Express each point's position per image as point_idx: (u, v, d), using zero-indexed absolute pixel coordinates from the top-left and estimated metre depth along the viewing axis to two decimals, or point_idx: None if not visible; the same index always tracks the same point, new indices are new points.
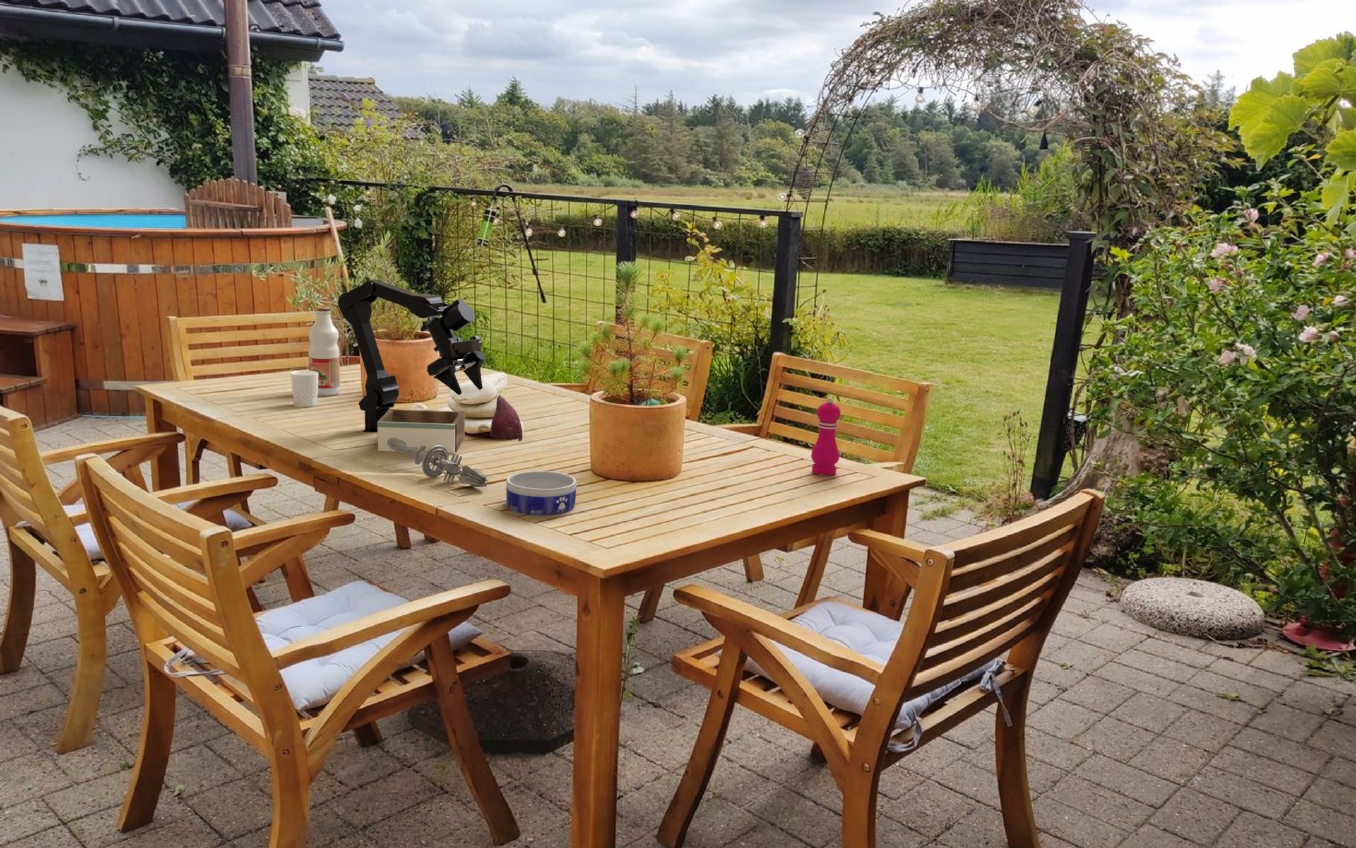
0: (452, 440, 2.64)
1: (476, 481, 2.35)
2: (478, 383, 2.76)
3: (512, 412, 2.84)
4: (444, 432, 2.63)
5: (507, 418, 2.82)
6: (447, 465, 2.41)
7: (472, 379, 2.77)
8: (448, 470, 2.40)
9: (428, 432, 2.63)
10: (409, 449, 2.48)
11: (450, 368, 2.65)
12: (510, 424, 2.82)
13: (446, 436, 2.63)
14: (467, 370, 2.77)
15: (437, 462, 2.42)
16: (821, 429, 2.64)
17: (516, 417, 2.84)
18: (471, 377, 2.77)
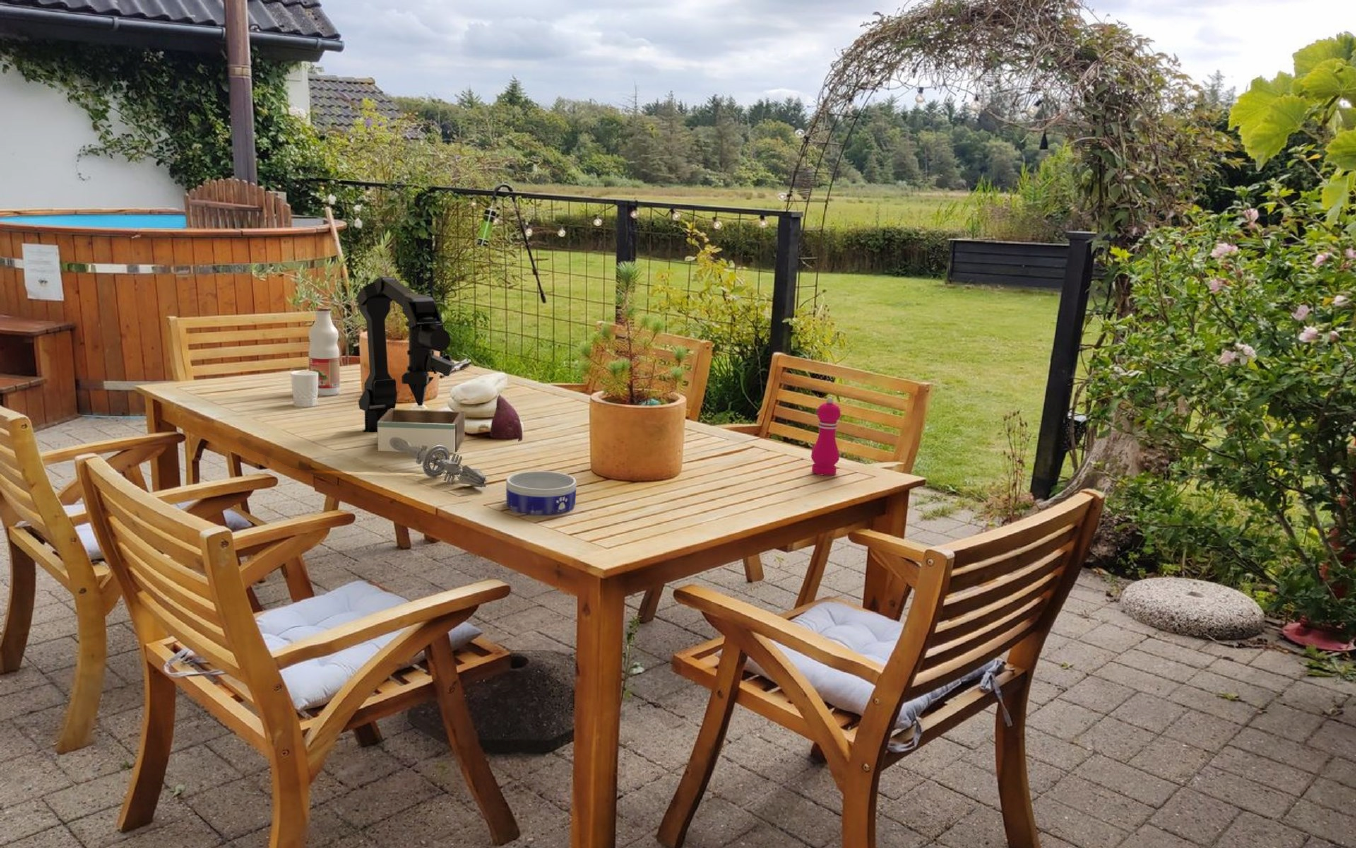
0: (452, 440, 2.64)
1: (475, 481, 2.35)
2: None
3: (512, 412, 2.84)
4: (444, 432, 2.63)
5: (507, 418, 2.82)
6: (447, 465, 2.41)
7: None
8: (448, 470, 2.40)
9: (428, 432, 2.63)
10: (411, 449, 2.48)
11: (429, 382, 2.64)
12: (510, 424, 2.82)
13: (446, 436, 2.63)
14: None
15: (438, 462, 2.42)
16: (821, 429, 2.64)
17: (516, 417, 2.84)
18: None
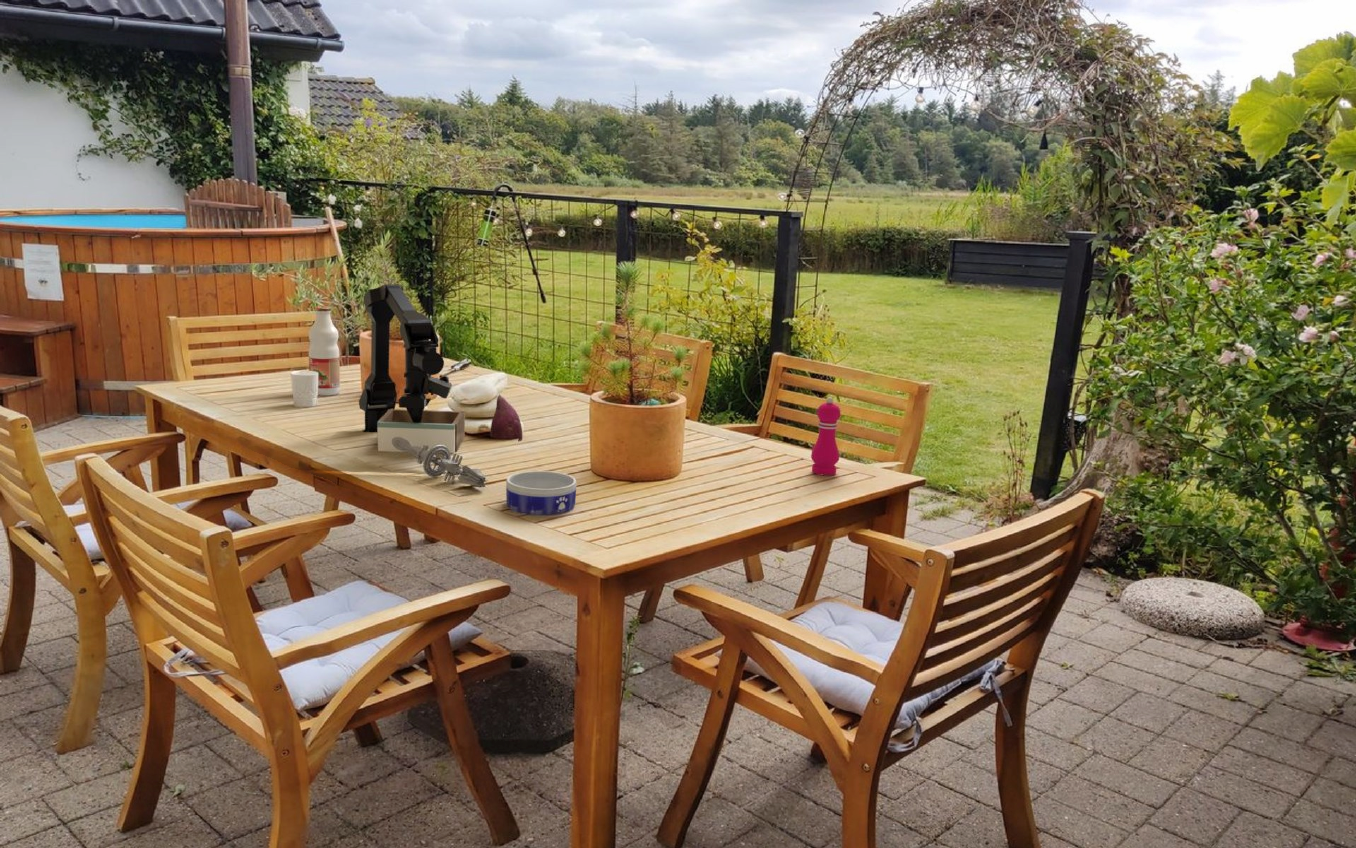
0: (452, 440, 2.64)
1: (475, 481, 2.35)
2: None
3: (512, 412, 2.84)
4: (444, 432, 2.63)
5: (507, 418, 2.82)
6: (448, 465, 2.41)
7: None
8: (449, 470, 2.41)
9: (428, 432, 2.63)
10: (412, 448, 2.48)
11: (426, 405, 2.60)
12: (510, 424, 2.82)
13: (446, 436, 2.63)
14: None
15: (438, 462, 2.42)
16: (821, 429, 2.64)
17: (516, 417, 2.84)
18: None
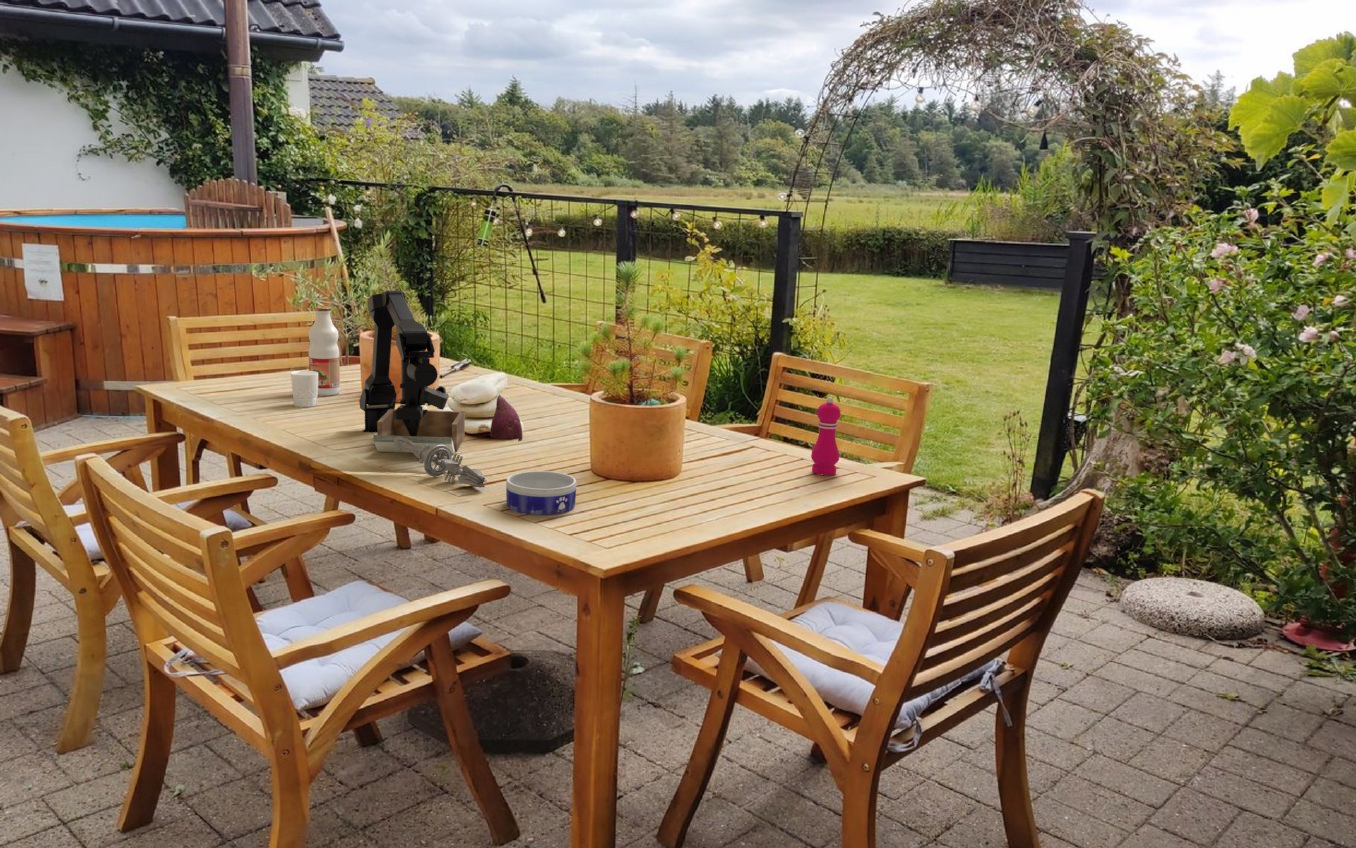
0: (451, 449, 2.62)
1: (474, 481, 2.35)
2: None
3: (512, 412, 2.84)
4: None
5: (507, 418, 2.82)
6: (448, 465, 2.41)
7: None
8: (449, 470, 2.41)
9: (425, 444, 2.60)
10: (413, 448, 2.49)
11: (423, 416, 2.56)
12: (510, 424, 2.82)
13: None
14: None
15: (439, 462, 2.42)
16: (821, 429, 2.64)
17: (516, 417, 2.84)
18: None
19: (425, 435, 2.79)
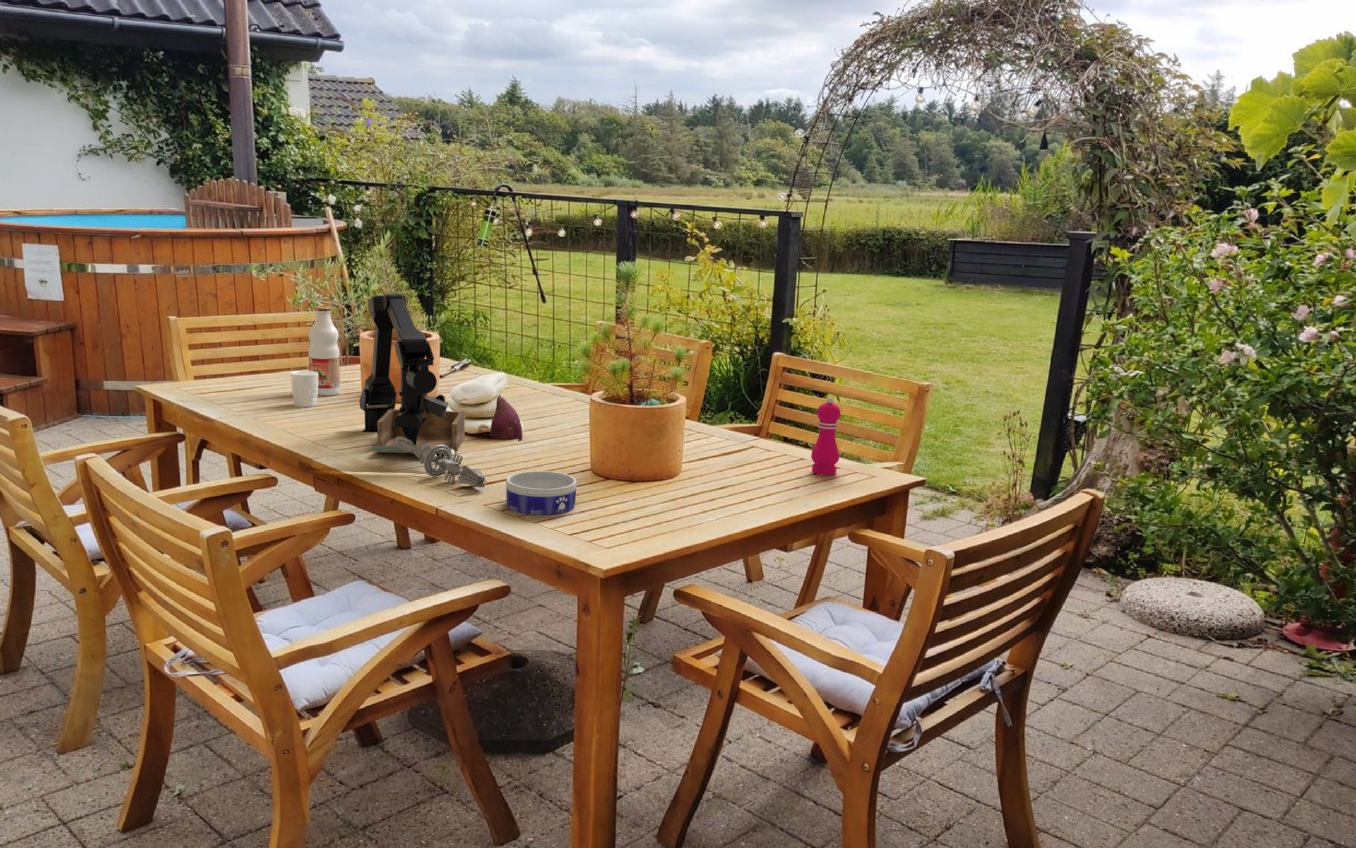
0: None
1: (474, 481, 2.35)
2: None
3: (512, 412, 2.84)
4: None
5: (507, 418, 2.82)
6: (448, 465, 2.41)
7: None
8: (449, 470, 2.41)
9: None
10: (414, 448, 2.49)
11: (422, 424, 2.55)
12: (510, 424, 2.82)
13: None
14: None
15: (439, 461, 2.42)
16: (821, 429, 2.64)
17: (516, 417, 2.84)
18: None
19: (425, 435, 2.79)
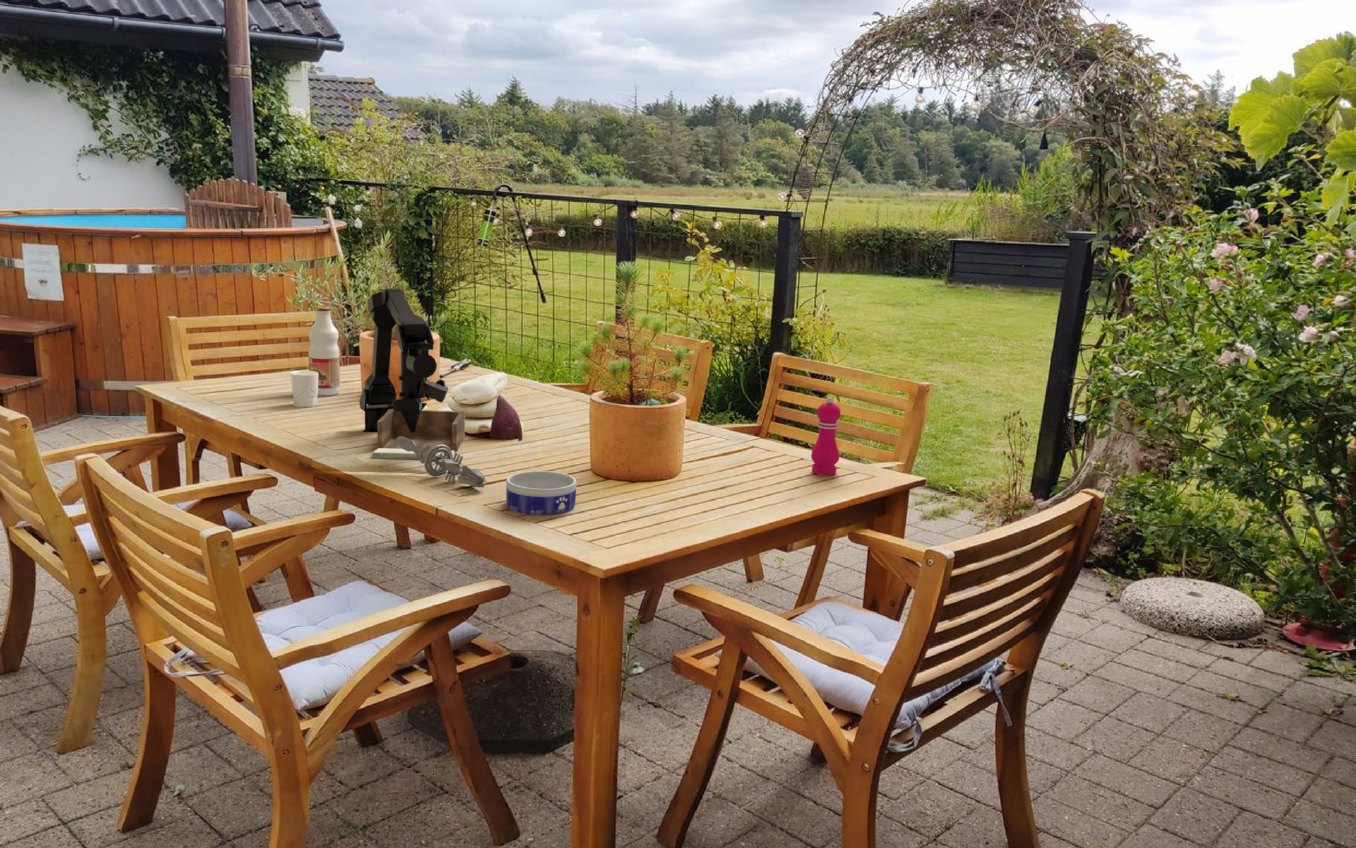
0: None
1: (474, 481, 2.35)
2: None
3: (512, 412, 2.84)
4: None
5: (507, 418, 2.82)
6: (448, 465, 2.41)
7: None
8: (449, 470, 2.41)
9: None
10: (415, 448, 2.49)
11: None
12: (510, 424, 2.82)
13: None
14: None
15: (439, 461, 2.42)
16: (821, 429, 2.64)
17: (516, 417, 2.84)
18: None
19: (425, 435, 2.79)
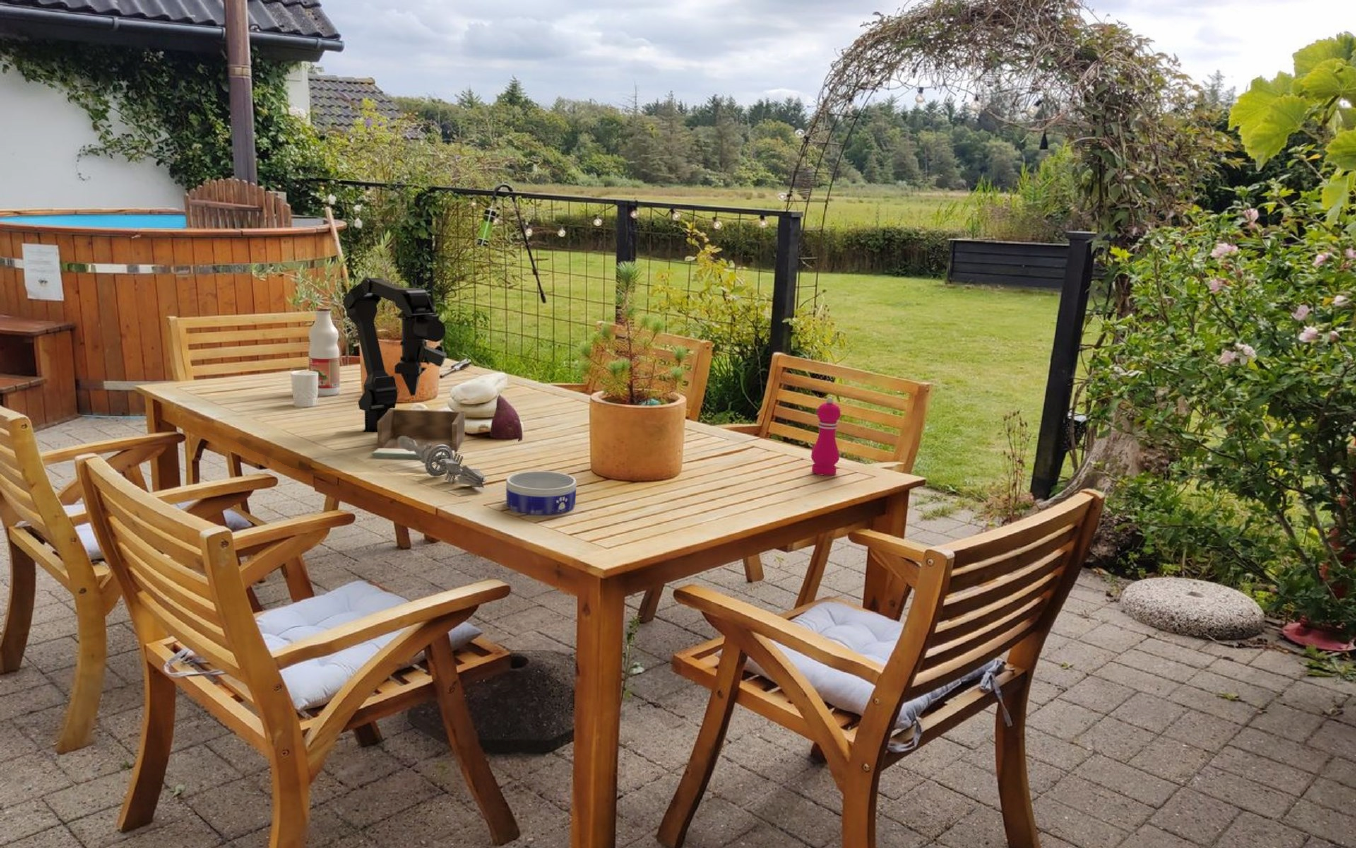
0: None
1: (474, 481, 2.35)
2: None
3: (512, 412, 2.84)
4: None
5: (507, 418, 2.82)
6: (449, 465, 2.41)
7: None
8: (449, 470, 2.41)
9: None
10: (416, 448, 2.49)
11: (421, 373, 2.70)
12: (510, 424, 2.82)
13: None
14: None
15: (440, 461, 2.42)
16: (821, 429, 2.64)
17: (516, 417, 2.84)
18: None
19: (425, 435, 2.79)
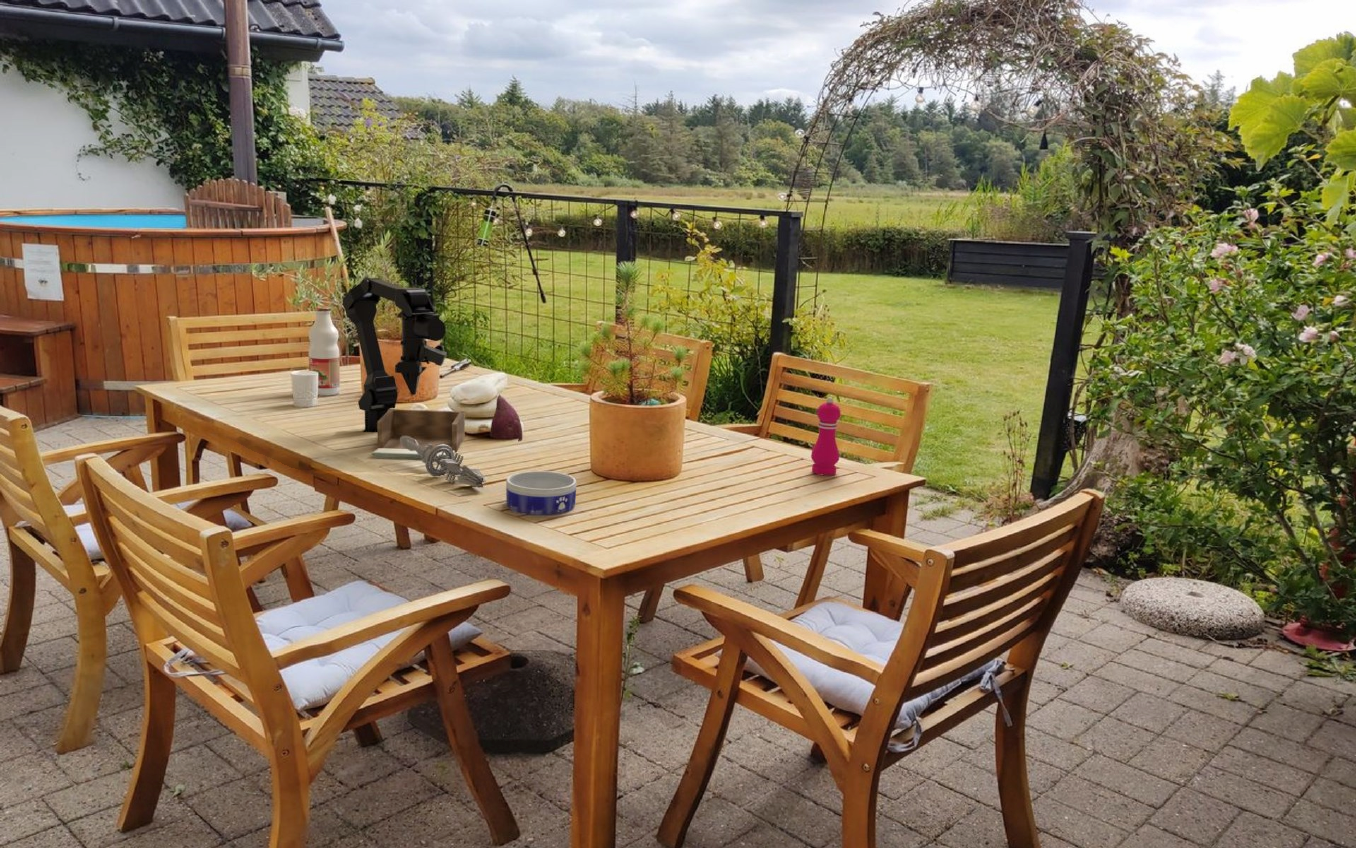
0: None
1: (473, 481, 2.35)
2: None
3: (512, 412, 2.84)
4: None
5: (507, 418, 2.82)
6: (449, 464, 2.41)
7: None
8: (450, 469, 2.41)
9: None
10: (417, 447, 2.50)
11: None
12: (510, 424, 2.82)
13: None
14: None
15: (440, 461, 2.43)
16: (821, 429, 2.64)
17: (516, 417, 2.84)
18: None
19: (425, 435, 2.79)
